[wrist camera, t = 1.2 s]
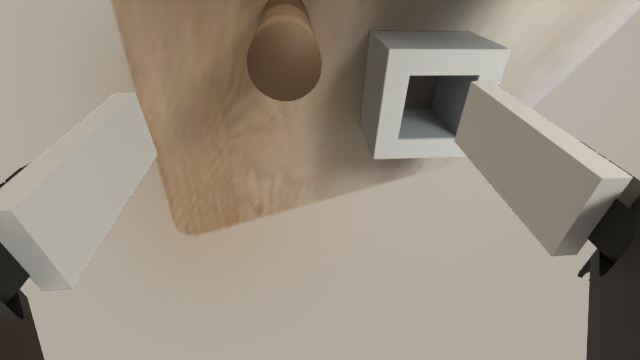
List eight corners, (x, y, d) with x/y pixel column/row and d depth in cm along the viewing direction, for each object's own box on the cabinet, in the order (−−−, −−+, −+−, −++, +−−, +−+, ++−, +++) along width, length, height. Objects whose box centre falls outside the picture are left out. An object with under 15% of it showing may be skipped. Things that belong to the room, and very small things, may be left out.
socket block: (369, 30, 30) (389, 49, 24) (469, 31, 31) (511, 50, 25) (359, 125, 36) (373, 159, 30) (443, 123, 37) (473, 156, 31)
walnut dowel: (261, -8, 28) (242, 24, 16) (307, -7, 28) (322, 25, 16) (265, 41, 30) (250, 101, 18) (307, 41, 30) (320, 100, 18)
